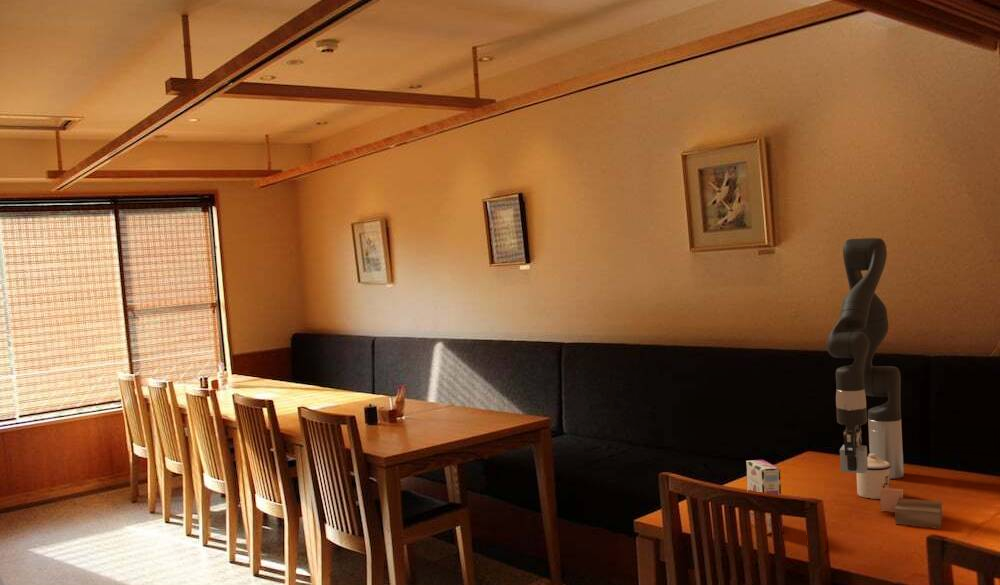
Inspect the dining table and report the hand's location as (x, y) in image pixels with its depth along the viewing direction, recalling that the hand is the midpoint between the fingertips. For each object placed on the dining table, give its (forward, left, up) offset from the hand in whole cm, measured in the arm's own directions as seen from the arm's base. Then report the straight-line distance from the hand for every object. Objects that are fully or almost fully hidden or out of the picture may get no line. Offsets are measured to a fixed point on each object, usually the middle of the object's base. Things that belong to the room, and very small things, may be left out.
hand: (854, 466), depth 234 cm
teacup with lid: (-14, +3, -11) cm, 18 cm away
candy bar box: (+26, -18, -11) cm, 34 cm away
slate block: (0, 0, -1) cm, 1 cm away
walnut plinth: (+8, +16, -11) cm, 21 cm away
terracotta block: (0, +9, -11) cm, 14 cm away
